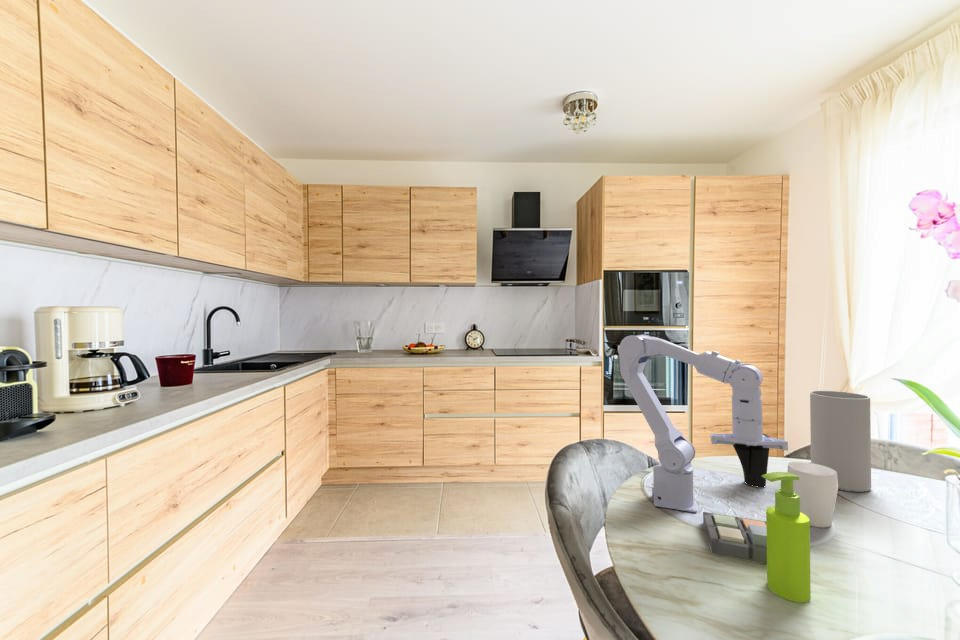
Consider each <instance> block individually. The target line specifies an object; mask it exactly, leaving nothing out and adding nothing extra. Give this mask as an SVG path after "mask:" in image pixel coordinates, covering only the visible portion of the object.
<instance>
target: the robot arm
mask: <svg viewBox="0 0 960 640" xmlns="http://www.w3.org/2000/svg"><path fill="white" fill-rule="evenodd" d="M617 353H618V355H619V371H620V375H621V377H622V380H624V383H625V385H626V386H627V389H628V390H629V392H630V394H631V396H632V397H633V399H634V401H635V402H636V404H637V406H638V408H639V410H640V411H641V413H642V415H643V418H645V419H644V420H646V422H647V424H648V426H649V428H650V430H651V432H652V433H653V436H654V446H655V449H656V451H657V455H658V456H657V457H658V460H659V463H660V465H653V466H652V470H653V472H652V473H653V474H652V476H653V479H652V480H653V483H652V485H653V486H652V489H651V493H652V495H653V506H654V507H659V508H664V509H665V508H666V509H670V510H678V511H682V512H689V513H698V509H697V506H696V505H697V504H696V501H695V498H694V496H695V495H694V467H693V465H692V463H691V462H692V461H693V460H694V458H695V456H696V449H695V447H694V445H693V443H692V442H691V441H689V440H688V439H687V438H686V437H685V436H684V435H683V433H682V431H680V430H679V429H678V428H676V427H675V426H674V424H673V422H672V421H671V419H670V417H669V415H668V414H667V412H666V411H665V408H664V407H663V405H662V403H661V402H660V400H659V398H658V396H657V395H656V393H655V391H654V389H653V388H652V386H651V385H650V383H649V381H648V379H647V377H646V375H645V374H644V370H645V367H646V364H647V362H648V360H649V359H650V357H653V356H659V355H660V356H661V355H662V356H664V357H667V358H671V359H674V360H676V361H678V362H679V361H680V362H682V363H685V364H688V365H691V366H693V367H694V368H695V370H696V371H697V373H698V374H700V375H703V376H705V377H708V378H710V379H713V380H716V381H718V382H721V383H723V384H729V386H730V387H731V389H732V397H731V407H732V408H731V418H732V419H731V420H732V421H731V425H732V426H731V427H732V433H710V443H711V444H712V445H718V444H719V445H729V446H730V445H731V446H732V447H733V450H735V453H736V454H737V455H736V456H738V460H739V462H740V465H741V468H742V472H743V478H744V477H745V479H748V480H753V477H754V473H755V470H756V467H757V465H758V463H759V461H760V459H761V458H762V457H763V455H764V450H763V448H769V449H777V450H782V451H786V452H787V451H789V444H788V443H789V442H788V441H787V440H786V439H784V438H775V437H771V438H769V437H763V433H764V431H763V427H764V425H763V398H762V389H761V387H760V386H761V385H762V383H763V379H764V375H763V373H762V371H761V370H760V369H759V368H758V367H757V366H756V365H753V364H752V363H742V360H740V359H736V360H734V359H730V358H727V357H725V356H723V355H719V354H720V353H719V351H715V350H712V351H711V352H710V351H707V350H706V351H704V352H702V353H698V352H696V351H693V350H691V349H688V348H685V347H683V346H681V345H679V344H675V343H673V342H670V341H668V340H666V339H663V338H660V337H656V336H650V335H648V334H645V333H644V334H643V333H641V334H639V335H638V334H637V335H632V334H631V335H628V336H625V337H623V339H621V341H620V344H619V346H618V348H617ZM652 495H651V496H652Z"/></svg>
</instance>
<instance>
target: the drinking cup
mask: <svg viewBox="0 0 960 640" xmlns="http://www.w3.org/2000/svg"><path fill="white" fill-rule="evenodd" d="M763 437H769V438H772V436H770V435H767V434H765V433H764V432H763ZM763 450H764V455H763V457H762V458H761V459H760V461H759V463H758V465H757V467H756V470H755V473H754V477H753V480H748V479H745V477H744V476H743V479H744V480H743V481H744V483H745V482H746V483H747V484H750V485H753V486H758V487H763V488H765V487H766V484H767V479H765V478H763V477H762V475H764V474H767V473H768V465H769V456H770V455H769V453H770V448H763ZM747 484H746V485H747ZM764 486H765V487H764Z"/></svg>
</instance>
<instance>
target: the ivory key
mask: <svg viewBox="0 0 960 640" xmlns="http://www.w3.org/2000/svg"><path fill="white" fill-rule="evenodd" d="M717 535H718V538H719V539H721V540H727V541H733V542H739V543H744V538H743V536H742V534H741V531H740V529H734V528H728V527H722V526H717Z"/></svg>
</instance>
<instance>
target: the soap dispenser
mask: <svg viewBox="0 0 960 640" xmlns="http://www.w3.org/2000/svg"><path fill="white" fill-rule="evenodd" d="M762 477H763V478H765V479H766V481H768V482H771V483H773V482H778V481H780V488H779V489H777V490H775V492H774V506H769V507H767V508H766V511H765V512H766V513H765V514H766V515H765V516H766V519H765V521H766V526H767V564H766V586H767V587H768V588H769V590H770V591H771V592H773V594H775V595H776V596H778V597H780V598H783V599H784V598H785V600H787V601H790V600H791V602H794V601H795V602H794V603H807V602H806V601H808V602H809V601H810V600H811V593H812V592H811V527H810V526H811V525H810V519H809V517H808V516H806V515H805V514H803V513H801V512H800V496H799V495H798V494H796V493H795V492H793V480H799V476H796V475H794V474H792V473H789V472H788V471H784V472H783V471H774V472H767V474H764V475H762Z"/></svg>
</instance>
